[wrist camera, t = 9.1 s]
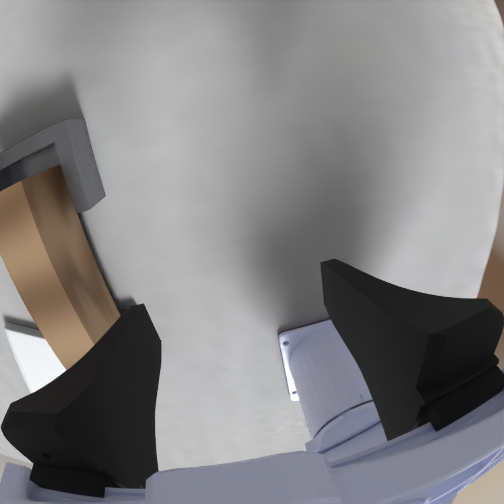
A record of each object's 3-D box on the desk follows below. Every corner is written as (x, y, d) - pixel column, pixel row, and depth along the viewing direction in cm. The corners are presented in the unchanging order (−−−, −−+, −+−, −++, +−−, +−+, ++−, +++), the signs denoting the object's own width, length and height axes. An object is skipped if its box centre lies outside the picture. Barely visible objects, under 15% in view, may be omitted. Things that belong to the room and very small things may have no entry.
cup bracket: (105, 196, 18) (90, 209, 16) (25, 225, 18) (4, 241, 15) (84, 118, 16) (64, 119, 13) (3, 158, 16) (-20, 166, 13)
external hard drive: (80, 333, 23) (101, 414, 28) (9, 318, 22) (40, 399, 27) (75, 344, 22) (98, 424, 27) (2, 328, 20) (36, 409, 25)
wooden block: (132, 338, 22) (120, 385, 18) (96, 344, 22) (79, 388, 18) (61, 163, 16) (20, 180, 12) (23, 181, 16) (-20, 202, 11)
